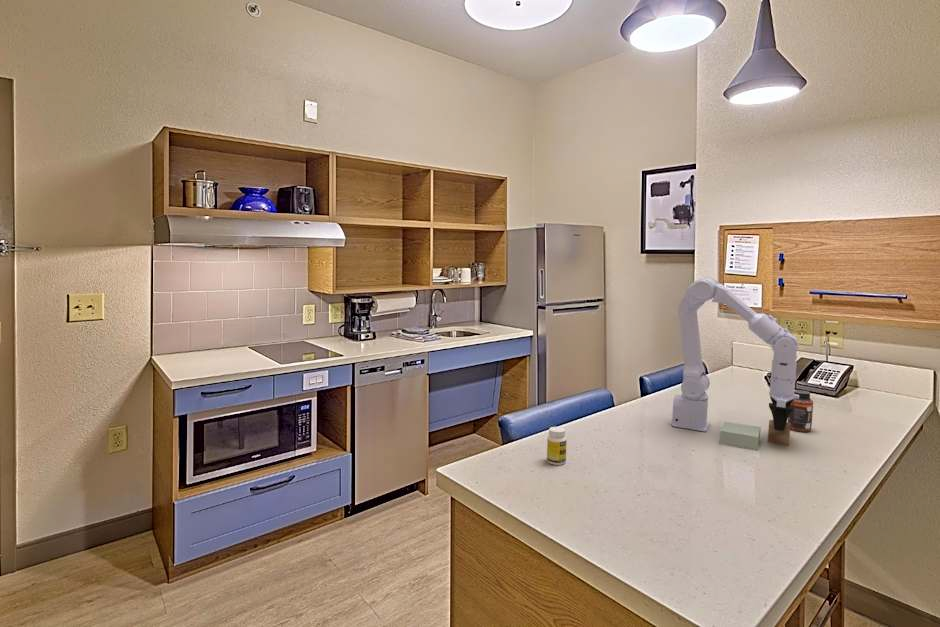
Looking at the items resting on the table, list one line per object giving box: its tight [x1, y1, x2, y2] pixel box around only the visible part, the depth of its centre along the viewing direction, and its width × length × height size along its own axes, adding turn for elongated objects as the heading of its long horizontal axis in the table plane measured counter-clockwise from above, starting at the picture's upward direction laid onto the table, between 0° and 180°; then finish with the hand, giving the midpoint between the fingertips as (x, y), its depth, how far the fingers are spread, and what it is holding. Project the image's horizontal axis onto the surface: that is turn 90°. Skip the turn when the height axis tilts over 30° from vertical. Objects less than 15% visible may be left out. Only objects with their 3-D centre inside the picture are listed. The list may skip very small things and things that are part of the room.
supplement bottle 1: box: [546, 426, 567, 466], centre depth 132 cm, size 5×5×8 cm
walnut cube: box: [767, 419, 791, 446], centre depth 145 cm, size 5×5×5 cm
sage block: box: [719, 421, 762, 451], centre depth 145 cm, size 9×9×4 cm
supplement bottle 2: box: [787, 389, 814, 433], centre depth 154 cm, size 6×6×11 cm
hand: (779, 426), depth 145 cm, fingers open, 7 cm apart
